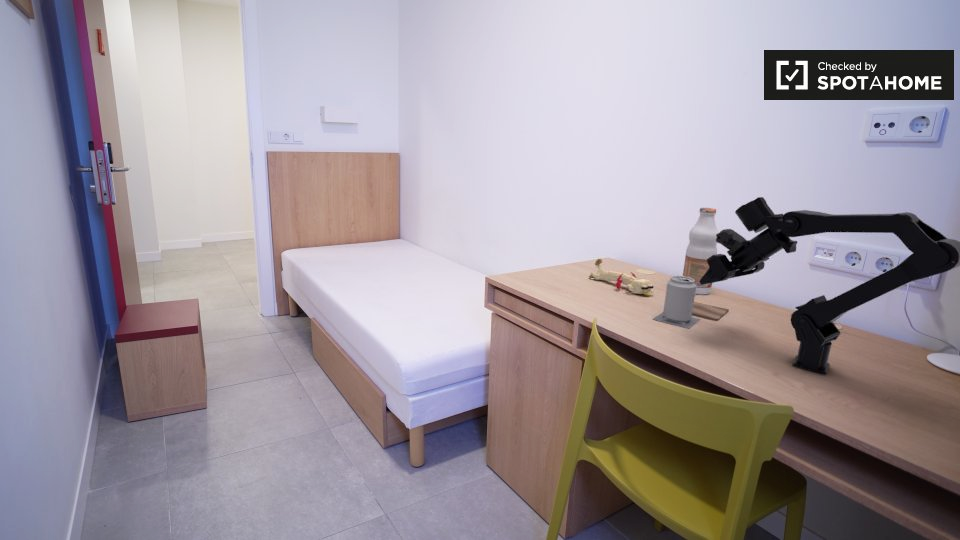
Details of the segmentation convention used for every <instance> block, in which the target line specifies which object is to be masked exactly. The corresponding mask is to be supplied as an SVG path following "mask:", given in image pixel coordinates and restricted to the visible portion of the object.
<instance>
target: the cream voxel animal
mask: <svg viewBox="0 0 960 540" xmlns="http://www.w3.org/2000/svg"><path fill="white" fill-rule="evenodd" d="M602 263H603V259H602V258H598V259H596V261H595V263H594V265H595V267H596V268H597V269H598V271H597V273H595V272H594V271H590V275H589V276H588V278H589V279H590V278H594V279H595V280H598V281H599V280H600V281H607V282H614V283H615V288H616V289H617V290H618V291H621V287H622V285H625V286H627V289H628V290H629V291H631V292H630V294H637V295H643V296H651V294H652V293H654V291H653V290H652V289H654V285H653V284H652V282H651V280H649V279H644V278H641V279H640V278H638V277H637V276H636V274H635V273H633V272H631V271H630V274H631V275H629V274H627V273H622V272H618V271H613V270H609V271H608V270H604V269H603V268H602V266H601V264H602ZM651 290H652V291H651Z"/></svg>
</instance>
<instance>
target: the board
mask: <svg viewBox="0 0 960 540" xmlns="http://www.w3.org/2000/svg"><path fill="white" fill-rule="evenodd" d="M728 312H729V309H728V308H724V307H719V306H715V305H711V304H707V303H702V302H697V301H694V305H693V311H692V317H696V318H697V317H698V318H700V319H701V318H702V319H706V320H710V321H714V322H719V321H720V320H721V319H722V318H723V317H724V316H725V315H726V314H728Z"/></svg>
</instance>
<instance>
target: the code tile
mask: <svg viewBox="0 0 960 540" xmlns="http://www.w3.org/2000/svg"><path fill="white" fill-rule="evenodd" d="M652 320H654V321H657V322H661V323H665V324H669V325H672V326H673V325H674V326H677V327H680V328H685V329H691V328H692V327H693V326H694V325H695V324H697V323H699V321H700V320H701V318H699V317H698V318H697V317H694V316H692V318H691V319H690V320H689V321H687V322H685V323H678V322H673V321H670V320H667V319H666V318H665V316H664V315H663V311H662V312H661V313H659V314H658V315H657V316H655V317H653V318H652Z"/></svg>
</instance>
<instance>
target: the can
mask: <svg viewBox="0 0 960 540" xmlns="http://www.w3.org/2000/svg"><path fill="white" fill-rule="evenodd" d="M694 281H695V280H694V279H692V278H690V277H685V276H683V275H672V276H670V279H669V280H668V281H667V284H666V290H665V298H664V303H663V304H664V305H663V310H662V312H663V315H664V316H665V318H666V319H667V320H670V321H673V322H678V323H685V322H687V321H689V320H690V319H691V318H692V317H693V315H692V311H693V305H694V302H695V297H696V294H695V292H696V284H695V283H694Z"/></svg>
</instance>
